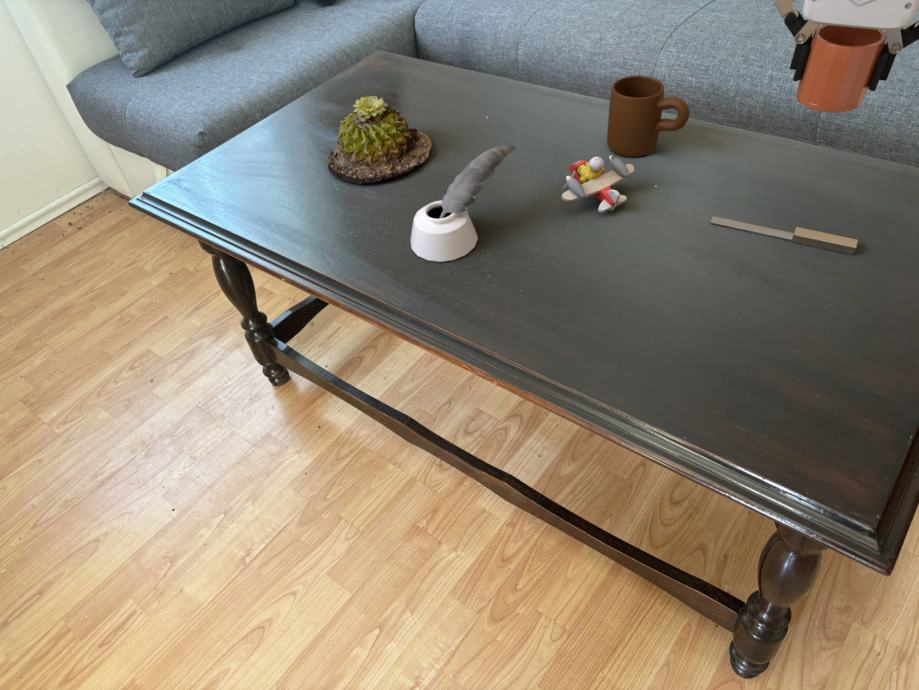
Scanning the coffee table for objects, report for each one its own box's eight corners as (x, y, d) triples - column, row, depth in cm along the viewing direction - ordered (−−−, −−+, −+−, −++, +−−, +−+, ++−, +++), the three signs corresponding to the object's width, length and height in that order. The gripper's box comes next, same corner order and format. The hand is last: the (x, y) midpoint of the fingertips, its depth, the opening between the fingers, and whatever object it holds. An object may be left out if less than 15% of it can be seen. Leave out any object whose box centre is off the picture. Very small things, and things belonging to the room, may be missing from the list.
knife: (854, 247, 80) (858, 239, 79) (853, 255, 79) (856, 247, 78) (712, 217, 87) (714, 209, 86) (709, 224, 86) (711, 216, 85)
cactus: (362, 199, 97) (348, 140, 90) (310, 160, 107) (293, 104, 100) (453, 153, 104) (446, 94, 97) (396, 121, 113) (386, 65, 106)
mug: (693, 149, 98) (704, 88, 92) (668, 172, 95) (678, 111, 88) (622, 128, 104) (628, 70, 98) (596, 150, 101) (600, 91, 94)
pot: (866, 88, 74) (890, 24, 69) (858, 117, 70) (883, 51, 65) (801, 80, 77) (820, 18, 72) (791, 107, 73) (809, 43, 68)
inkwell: (396, 242, 89) (384, 179, 82) (493, 186, 97) (488, 123, 89) (440, 272, 84) (430, 207, 77) (538, 210, 91) (537, 146, 84)
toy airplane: (569, 180, 96) (570, 140, 91) (632, 184, 94) (637, 143, 89) (558, 216, 90) (559, 176, 85) (626, 222, 88) (630, 181, 83)
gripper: (787, -103, 61) (744, 85, 73) (1013, -97, 54) (922, 108, 67) (802, -124, 65) (759, 57, 78) (1013, -121, 58) (927, 76, 71)
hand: (835, 79), depth 72 cm, fingers closed on pot, 6 cm apart
